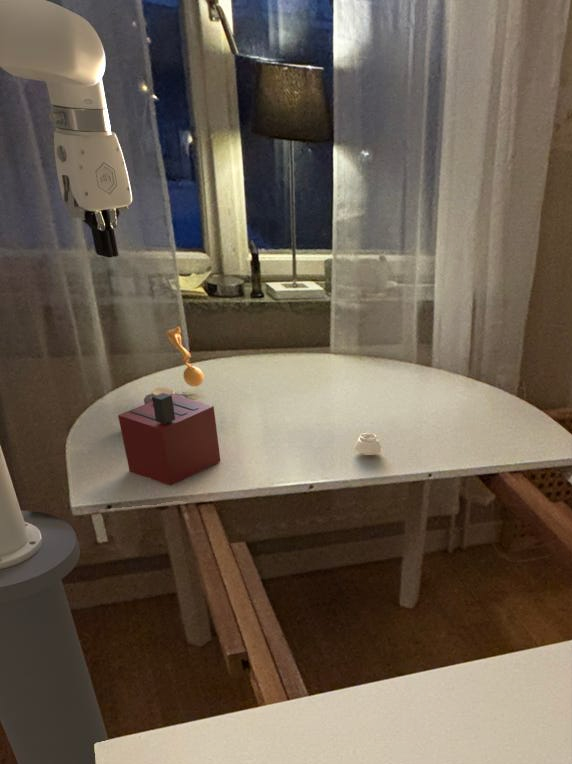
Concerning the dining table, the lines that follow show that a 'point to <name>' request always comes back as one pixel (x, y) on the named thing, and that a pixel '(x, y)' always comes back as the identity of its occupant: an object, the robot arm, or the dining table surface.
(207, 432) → the toaster
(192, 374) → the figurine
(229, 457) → the dining table surface
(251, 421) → the dining table surface
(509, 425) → the dining table surface
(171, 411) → the slider
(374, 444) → the white jar
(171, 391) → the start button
